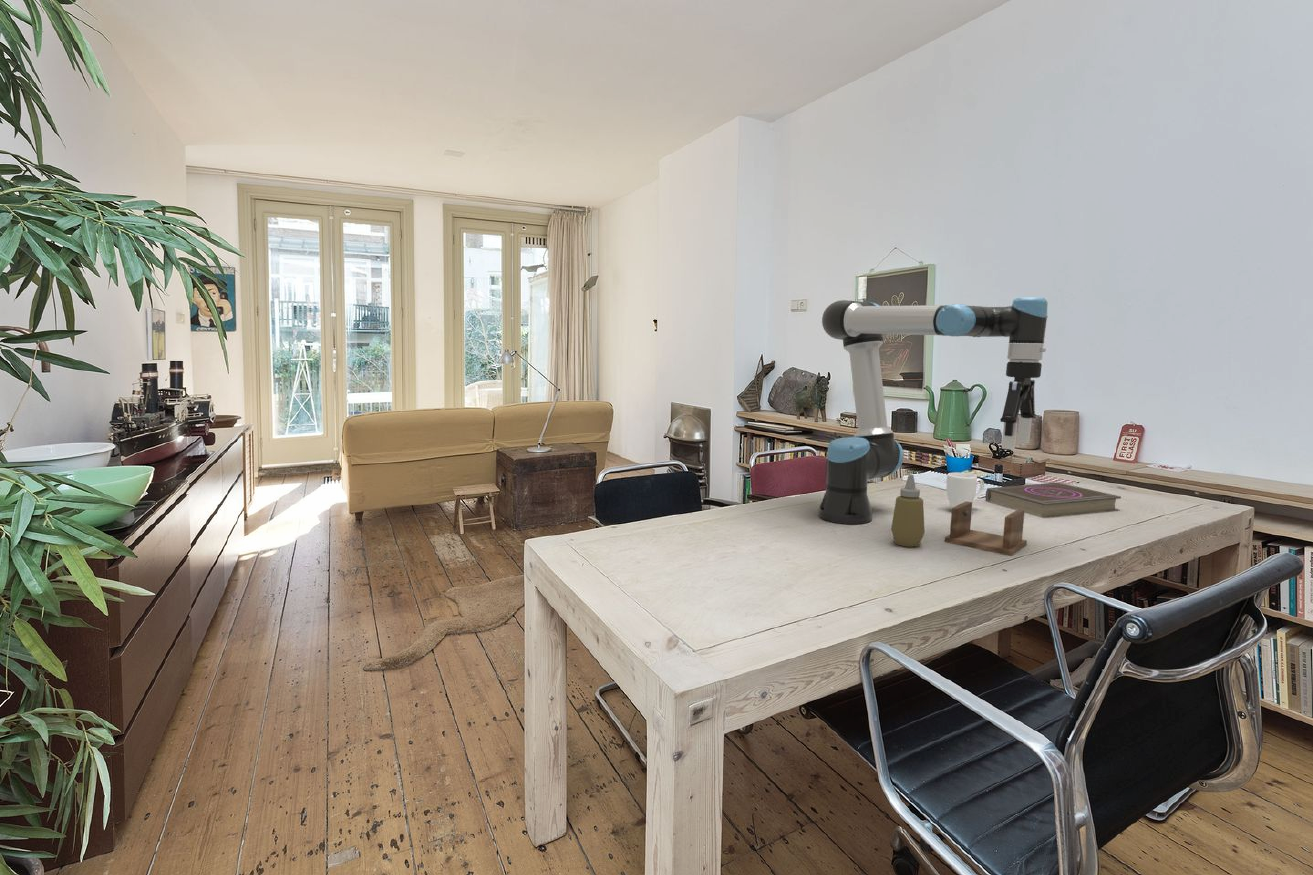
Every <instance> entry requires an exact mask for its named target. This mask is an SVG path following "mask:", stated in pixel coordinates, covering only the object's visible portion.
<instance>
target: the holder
mask: <svg viewBox="0 0 1313 875" xmlns="http://www.w3.org/2000/svg"><path fill="white" fill-rule="evenodd" d="M972 511H973V503H972V502H967V501H966V502H964V503H961V504H959V505H957V506H955V507H953V508H952V509H951V514H950V516H951V517H950V529H949V531H950V532H949V534H948V535H946V536H945V537H944V542H945V543H950V544H954V545H959V546H963V547H964V546H965V547H969V548H974V549H979V550H983V551H989V552H993V553H996V554H997V553H998V554H1002V555H1007V556H1013V555H1015V554H1016V553H1018V552H1019V551H1021V550H1022V549H1024V548H1025V547H1026V546H1027V545H1028V540H1027V539H1023V532H1024V521H1025V520H1024V519H1025V512H1024V511H1022V510H1014V511H1013V512H1011V513H1009V514H1008V515H1005V517H1004V522H1003V523H1004V524H1003V535H1000V534H995V533H990V532H984V531H980V530H979V531H978V530H975V529H971V525H972V514H973V513H972Z"/></svg>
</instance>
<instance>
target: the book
mask: <svg viewBox="0 0 1313 875" xmlns="http://www.w3.org/2000/svg"><path fill="white" fill-rule="evenodd" d="M984 497H985V502H988V503H989V504H995V505H997V506H1001V507H1004V508H1009V509H1011V510H1014V511H1016V510H1022V511H1024V514H1028V515H1032V516H1036V517H1039V518H1042V519H1048V518H1059V517H1067V516H1068V517H1069V516H1077V515H1078V516H1080V515H1088V514H1099V513H1109V512H1119V511H1118V510H1119V509H1117V508H1116V501H1117V500H1120V499H1122V496H1120V495H1117V494H1116V495H1115V494H1112V493H1106V492H1103V491H1098V490H1093V489H1089V488H1086V487H1080V486H1075V485H1072V484H1067V483H1062V482H1048V483H1047V482H1046V483H1045V482H1044V483H1034V484H1023V485H1009V486H1008V485H1007V486H998V487H987V488H986V491H985V496H984Z"/></svg>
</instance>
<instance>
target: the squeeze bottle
mask: <svg viewBox="0 0 1313 875" xmlns="http://www.w3.org/2000/svg"><path fill="white" fill-rule="evenodd" d="M899 491H900V495H898V496H897V497H896V498H895V503H894V511H893V516H892V522H891V528H890V529H891V533H892V537H893V540H894V543H895V544H896V545H899V546H903V547H908V548H909V547H912V548H913V547H918V546H920V544H921V541H922V539H923V538H924V535H925V533H926V532H925V514H924V510H925V509H924V499H922V497H920V496H921V494H920V493H921V490H920V489H919V488H916V483H915V475H914V474H908V476H907V480H906V483H905V486H904V487H901V488H900V490H899Z"/></svg>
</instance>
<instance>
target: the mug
mask: <svg viewBox="0 0 1313 875" xmlns="http://www.w3.org/2000/svg"><path fill="white" fill-rule="evenodd" d="M946 475H947V476H946V497H947V499H948V502H949V505H950V508H951V510H952V508H953V507H955V506H957V505H959V504H961V503H964V502H966V501H967V502H972V504H973V503H974V502H976V500H977V499H978V498H979V497H980V496H981V495H982V494H983V492H984V490H985V482H984V480H983V479H981V478H979V477H978V476H977V475H975V474H974V473H973V474H972V473H968V472H949V473H948V474H946ZM978 482H979V489H978V491H977V487H978V486H977V484H978Z"/></svg>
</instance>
